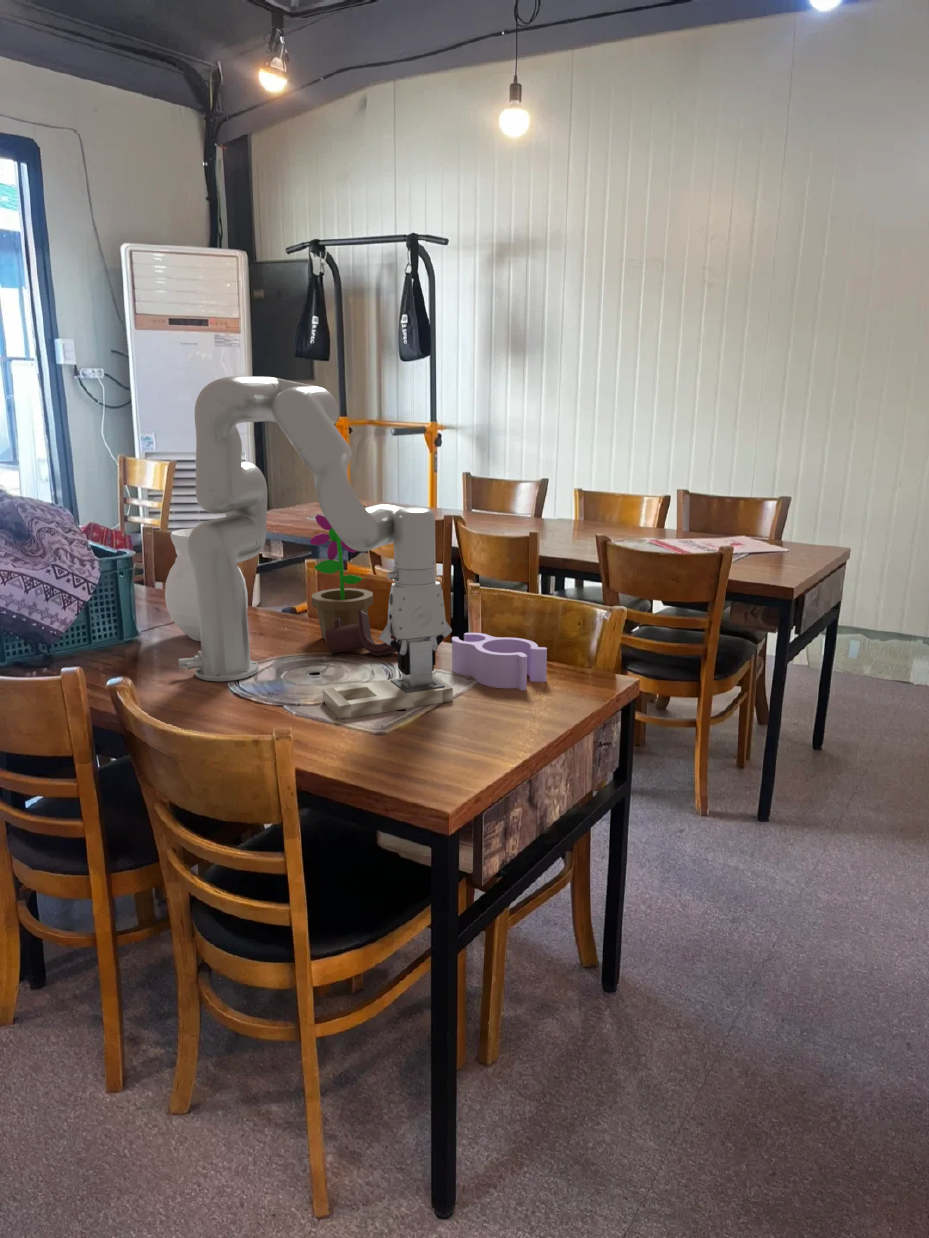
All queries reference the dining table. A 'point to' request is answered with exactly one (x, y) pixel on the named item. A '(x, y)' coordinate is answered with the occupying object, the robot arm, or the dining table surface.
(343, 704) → the pegboard
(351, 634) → the bracket
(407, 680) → the peg
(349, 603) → the flowerpot
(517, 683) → the clip
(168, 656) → the dining table surface
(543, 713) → the dining table surface
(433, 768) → the dining table surface
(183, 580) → the pitcher
